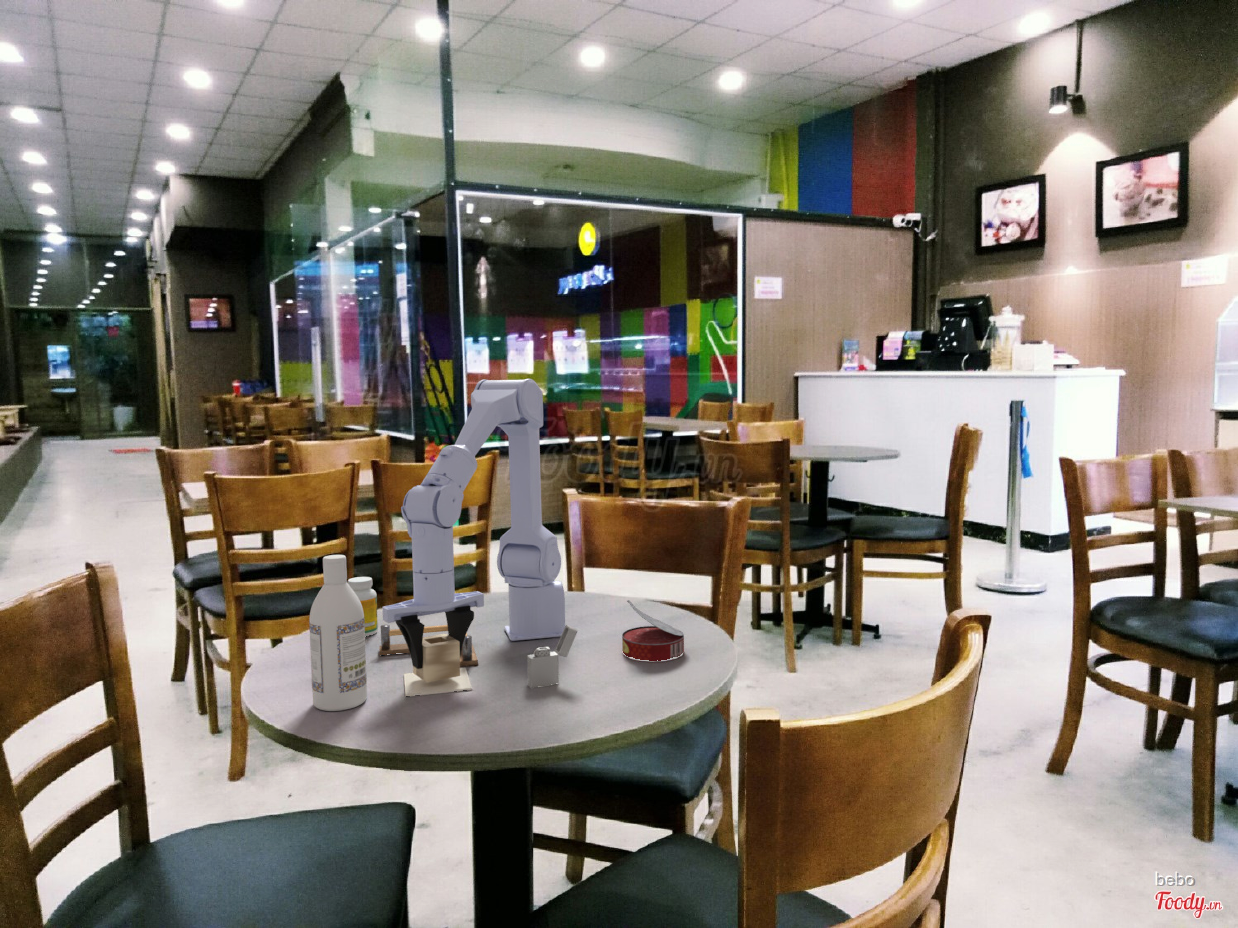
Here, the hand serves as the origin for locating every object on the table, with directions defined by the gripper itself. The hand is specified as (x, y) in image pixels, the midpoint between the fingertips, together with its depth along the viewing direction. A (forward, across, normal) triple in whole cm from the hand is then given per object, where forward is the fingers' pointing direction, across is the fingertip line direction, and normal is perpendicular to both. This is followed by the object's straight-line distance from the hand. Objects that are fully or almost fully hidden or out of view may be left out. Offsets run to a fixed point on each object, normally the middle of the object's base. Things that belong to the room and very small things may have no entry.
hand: (436, 662), depth 120 cm
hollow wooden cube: (+2, 0, 0) cm, 2 cm away
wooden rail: (+3, -3, -12) cm, 12 cm away
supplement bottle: (+3, +1, -31) cm, 31 cm away
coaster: (+3, 0, 0) cm, 3 cm away
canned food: (+3, -33, +8) cm, 34 cm away
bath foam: (+3, +14, -1) cm, 14 cm away
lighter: (+3, -13, +10) cm, 17 cm away
